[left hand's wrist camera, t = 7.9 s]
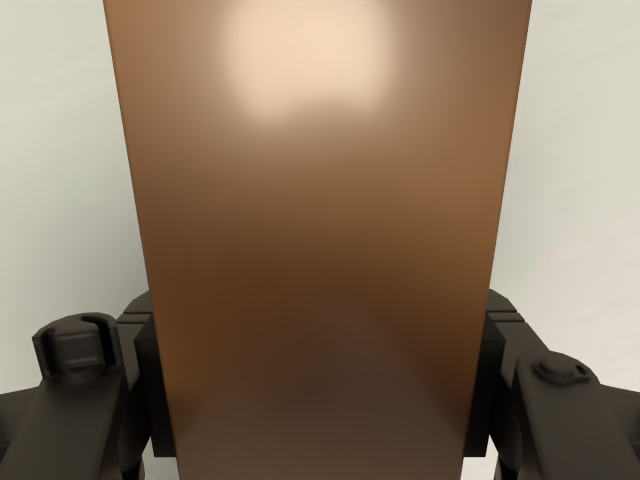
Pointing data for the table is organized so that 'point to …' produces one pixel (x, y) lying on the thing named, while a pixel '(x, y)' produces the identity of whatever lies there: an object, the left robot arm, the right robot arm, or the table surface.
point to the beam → (318, 223)
